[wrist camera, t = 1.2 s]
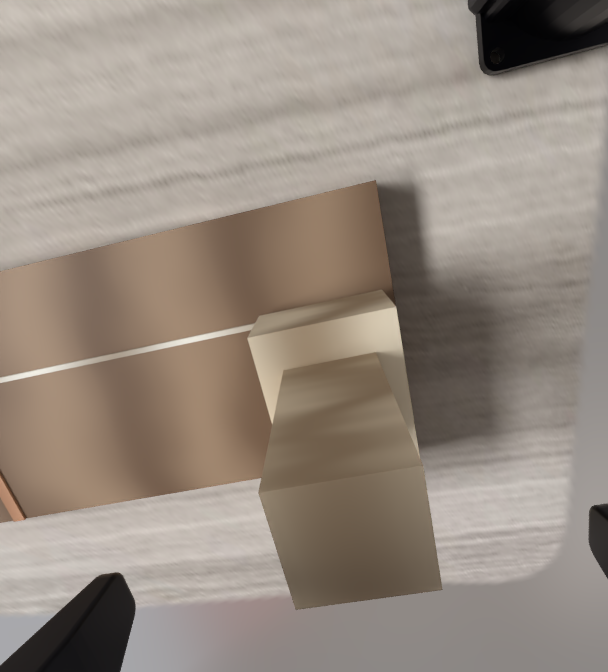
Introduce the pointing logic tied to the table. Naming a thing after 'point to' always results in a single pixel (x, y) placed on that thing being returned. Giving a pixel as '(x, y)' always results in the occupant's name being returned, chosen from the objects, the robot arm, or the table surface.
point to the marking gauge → (343, 454)
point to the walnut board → (163, 350)
